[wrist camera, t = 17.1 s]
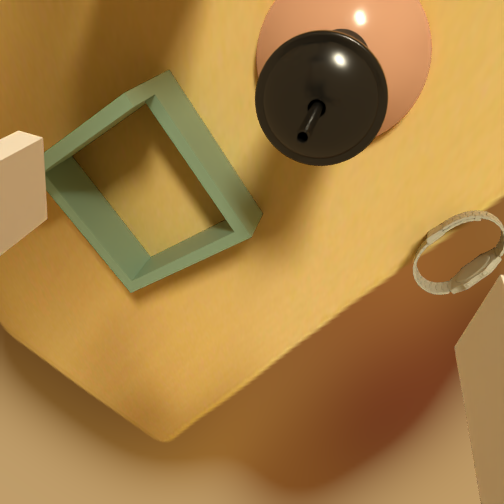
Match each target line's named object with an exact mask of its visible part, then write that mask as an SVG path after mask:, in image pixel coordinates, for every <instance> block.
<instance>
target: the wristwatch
mask: <svg viewBox="0 0 504 504" xmlns="http://www.w3.org/2000/svg"><path fill="white" fill-rule="evenodd" d="M481 218H482V219H487V220H490V221H492V222H494V223H495V224H497V225H498V226H499V227H500V229H501V237H500V241H499V242H498V244H497V246H496V248H493V249H491V250H490V251H488V252H485V253H483V254H480V255H479V256H478V257H476V258H475V259H474V260H472V261H471V262H470V263H468V264H467V265H465V266H464V267H462V268H461V270H460V271H459V272H458V273H457V274H456V275H455V276H454V277H453V278H451V279H450V281H447V282H443V283H442V282H441V283H435V282H430V281H428V280H426V279H425V278H423V277H422V276H421V275H420V273H419V272H418V269H417V261H418V258H419V257H420V255H421V253H422V252H423V251H424V249H426V248H427V247H428V246H429V245H431V244H432V243H433V242H435V241H436V240H437V239H439V238H440V237H441V236H443V235H444V234H445V233H446V232H447V231H449V230H450V229H452V228H454V227H455V226H458V225H460V224H462V223H466V222H467V221H468V222H469V221H481ZM503 253H504V227H503V225H502V223H501V222H500V220H499V219H498V218H497V217H496V216H494V215H493V214H491V213H488V212H486V211H474V212H473V211H468V212H464V213H461V214H458V215H455V216H454V217H451V218H449V219H448V220H446V221H444V222H443V223H441V224H440V225H438V226H437V227H435V228H434V229H432V230H430V231H429V232H428V233H427V239H426V240H425V241H424V242H423V243H422V244H421V245H420V247H419V249H418V250H417V252H416V255H415V259H414V266H413V275H414V278H415V280H416V282H417V284H418V285H419V286H420V287H421V288H422V289H423V290H425V291H427V292H429V293H432V294H438V295H443V294H449V291H450V292H452V293H453V294H455V293H457V292H461V291H464V290H467V289H469V288H470V287H471V286H473V285H474V284H476V283H477V282H479V281H480V280H482V279H483V278H484V277H486V276H487V275H489V274H490V273H491V272H492V271H493V270H494V269H495V268H496V266H497V265H498V263H499V262H500V261H501V257H500V256H502V255H503Z"/></svg>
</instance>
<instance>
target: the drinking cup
mask: <svg viewBox="0 0 504 504" xmlns="http://www.w3.org/2000/svg"><path fill="white" fill-rule="evenodd" d="M387 106H388V86H387V81H386V77H385V74H384V71H383V69H382V66H381V64H380V63H379V61H378V59H377V58H376V57H375V55H374V54H373V53H372V51H371V50H370V49H369V48H368V46H367V44H366V42H365V41H364V39H363V38H362V37H361V36H360V35H359V34H357V33H356V32H354V31H351V30H348V29H335V30H314V31H309V32H305V33H302V34H299V35H297V36H295V37H292V38H291V39H289V40H287V41H286V42H284V43H283V44H282V45H280V46H279V47H278V48H277V49H276V50H275V51H274V52H273V53H272V55H271V56H270V57H269V58H268V60H267V61H266V63H265V64H264V66H263V68H262V70H261V72H260V75H259V78H258V81H257V85H256V92H255V107H256V113H257V117H258V120H259V123H260V126H261V128H262V130H263V132H264V134H265V135H266V137H267V138H268V140H269V141H270V142H271V143H272V145H273V146H274V147H275V148H276V149H278V150H279V151H280V152H281V153H283V154H284V155H285V156H287V157H289V158H291V159H293V160H295V161H297V162H300V163H303V164H308V165H314V166H327V165H333V164H338V163H341V162H344V161H346V160H349V159H351V158H352V157H354V156H356V155H357V154H359V153H360V152H362V151H363V150H364V149H365V148H366V147H367V146H368V145H369V144H370V143H371V142H372V141H373V140H374V138H375V137H376V135H377V134H378V132H379V130H380V128H381V127H382V124H383V122H384V119H385V116H386V112H387Z"/></svg>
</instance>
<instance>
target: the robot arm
mask: <svg viewBox="0 0 504 504" xmlns="http://www.w3.org/2000/svg"><path fill="white" fill-rule="evenodd" d="M47 219H48V218H47V200H46V182H45V164H44V146H43V138H42V137H39V136H36V135H32V134H29V133H26V132H22V131H16V132H14V133H12V134H10V135H8V136H6V137H4V138H2V139H0V256H1V255H2V254H3V253H4V252H6V251H7V250H8V249H10V248H11V247H12V246H13V245H15V244H16V243H17V242H19V241H20V240H21V239H22V238H24V237H25V236H26V235H27V234H29V233H30V232H31V231H33V230H34V229H35V228H36V227H38V226H39V225H40V224H42V223H43V222H44V221H45V220H47ZM455 353H456V359H457V365H458V371H459V377H460V383H461V389H462V394H463V400H464V407H465V412H466V418H467V424H468V430H469V435H470V442H471V448H472V454H473V459H474V466H475V471H476V477H477V483H478V489H479V495H480V501H481V504H504V275H500V276H499V278H498V279H497V281H496V282H495V284H494V285H493V287H492V289H491V290H490V292H489V293H488V295H487V296H486V298H485V300H484V301H483V303H482V305H481V306H480V307H479V309H478V311H477V312H476V314H475V315H474V317H473V318H472V320H471V322H470V323H469V325H468V326H467V328H466V330H465V331H464V333H463V334H462V336H461V338H460V339H459V341H458V342H457V344H456V345H455Z"/></svg>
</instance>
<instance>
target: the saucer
mask: <svg viewBox="0 0 504 504" xmlns="http://www.w3.org/2000/svg"><path fill="white" fill-rule="evenodd" d="M335 29H348V30H351V31H354V32H356V33H357V34H359V35H360V36H361V37H362V38H363V39H364V41H365V42H366V44H367V46H368V48H369V49H370V50H371V51H372V53H373V54H374V55H375V57H376V58H377V59H378V61H379V63H380V64H381V66H382V69H383V71H384V74H385V77H386V81H387V86H388V106H387V112H386V116H385V119H384V122H383V124H382V127H381V128H380V130H379V132H378V134H377V135H376V136H379V135H380V134H382V133H384V132H385V131H387V130H389V129H390V128H391V127H393V126H394V125H395V124H397V123H398V122H399V121H400V120H401V119H402V118H403V117H404V116H405V115H406V114H407V112H408V111H409V110H410V109H411V108H412V106H413V105H414V103H415V102H416V100H417V99H418V97H419V95H420V93H421V91H422V89H423V87H424V85H425V82H426V79H427V76H428V73H429V68H430V63H431V52H432V43H431V33H430V28H429V23H428V20H427V17H426V14H425V11H424V9H423V7H422V5H421V4H420V2H419V0H275V2H274V3H273V5H272V6H271V8H270V10H269V11H268V13H267V15H266V17H265V20H264V22H263V25H262V27H261V31H260V35H259V39H258V45H257V61H256V63H257V73H258V78H259V75H260V72H261V70H262V68H263V66H264V64H265V63H266V61H267V60H268V58H269V57H270V56H271V55H272V53H273V52H274V51H275V50H276V49H277V48H278V47H279V46H280V45H282V44H283V43H284V42H286V41H287V40H289V39H291V38H292V37H295V36H297V35H299V34H302V33H305V32H309V31H314V30H335Z"/></svg>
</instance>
